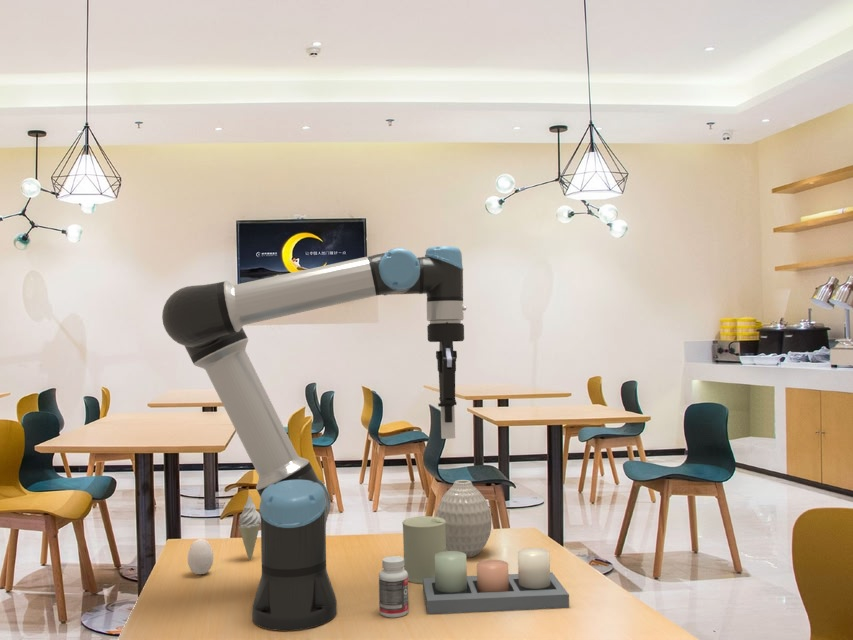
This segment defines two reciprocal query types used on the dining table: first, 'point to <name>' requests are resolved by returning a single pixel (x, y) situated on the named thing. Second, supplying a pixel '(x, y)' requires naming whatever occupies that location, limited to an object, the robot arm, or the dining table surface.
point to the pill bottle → (393, 588)
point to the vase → (465, 518)
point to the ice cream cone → (249, 526)
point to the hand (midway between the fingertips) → (448, 437)
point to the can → (422, 546)
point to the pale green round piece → (450, 571)
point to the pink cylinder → (492, 576)
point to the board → (494, 597)
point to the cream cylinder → (534, 568)
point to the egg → (200, 556)
